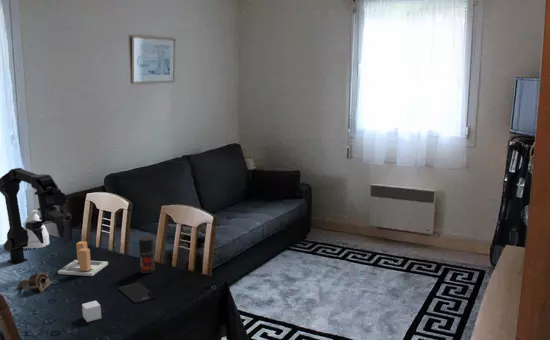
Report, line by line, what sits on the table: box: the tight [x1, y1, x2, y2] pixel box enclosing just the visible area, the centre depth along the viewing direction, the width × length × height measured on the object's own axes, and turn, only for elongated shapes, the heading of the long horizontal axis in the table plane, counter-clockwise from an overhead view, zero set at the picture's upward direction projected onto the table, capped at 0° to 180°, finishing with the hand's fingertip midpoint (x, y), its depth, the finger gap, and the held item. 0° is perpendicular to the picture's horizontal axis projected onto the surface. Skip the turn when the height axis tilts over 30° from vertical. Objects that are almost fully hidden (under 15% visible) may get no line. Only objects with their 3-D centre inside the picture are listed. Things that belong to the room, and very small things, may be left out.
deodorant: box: [138, 235, 156, 274], centre depth 234 cm, size 6×6×15 cm
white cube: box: [81, 300, 102, 323], centre depth 192 cm, size 5×5×5 cm
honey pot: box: [22, 209, 50, 250], centre depth 271 cm, size 13×13×18 cm
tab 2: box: [78, 248, 92, 271], centre depth 233 cm, size 4×3×9 cm
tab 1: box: [75, 240, 88, 263], centre depth 242 cm, size 4×3×9 cm
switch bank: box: [57, 259, 109, 277], centre depth 239 cm, size 16×14×1 cm
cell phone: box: [117, 282, 152, 305], centre depth 213 cm, size 9×18×1 cm, turn 37°
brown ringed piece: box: [17, 272, 52, 293], centre depth 218 cm, size 7×13×10 cm
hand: (51, 240), depth 233 cm, fingers open, 9 cm apart
